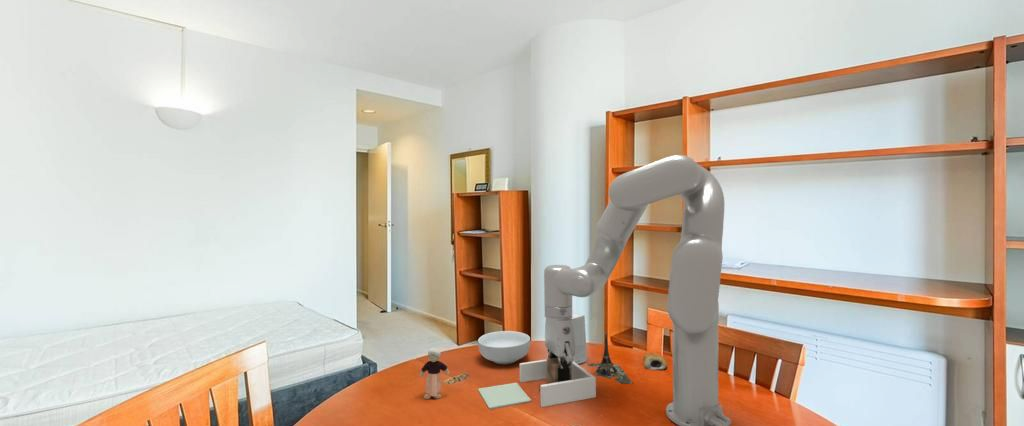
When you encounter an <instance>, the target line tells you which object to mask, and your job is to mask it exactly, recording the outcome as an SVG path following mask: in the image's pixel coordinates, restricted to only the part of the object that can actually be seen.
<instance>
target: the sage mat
mask: <svg viewBox="0 0 1024 426" xmlns="http://www.w3.org/2000/svg"><path fill="white" fill-rule="evenodd" d="M477 391H478V392H479V394H480V396H481V398H482V400H484V403H485V404H486V407H488V409H489V410H493V409H499V408H504V407H509V406H515V405H521V404H525V403H526V404H527V403H531V402H532V399H531V398H530V397H529V395H528V394H527V393H526V392H525V391H524V390H523V389H522V387H521V386H520V385H519V383H518V382H513V383H505V384H499V385H492V386H487V387H480V388H478V389H477Z"/></svg>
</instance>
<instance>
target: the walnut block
mask: <svg viewBox="0 0 1024 426" xmlns="http://www.w3.org/2000/svg"><path fill="white" fill-rule="evenodd" d="M546 360H547V378H546V382H547V383H548V384H550V383H556V382H558V368H559V361H558V357H557V358H550V359H548V358H546ZM564 360H566V358H562V363H563V361H564ZM570 380H572V363H571V365H570Z"/></svg>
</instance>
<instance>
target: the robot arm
mask: <svg viewBox="0 0 1024 426" xmlns="http://www.w3.org/2000/svg"><path fill="white" fill-rule="evenodd" d="M677 195H678V196H680V197H681V199H682V201H683V210H682V211H683V212H682V222H681V223H682V224H681V233H680V241H679V242H678V243H677V244H676V246H675V248H674V250H673V252H672V256H671V263H670V272H669V273H670V275H669V283H668V284H669V285H668V294H667V303H666V305H667V306H666V307H667V309H666V310H667V313H668V314H667V315H668V316H669V319H670V320H671V322H672V396H673V397H672V402H669V403H668V404H667V405H666V408H665V411H666V416H667V417H668V419H669V420H670V421H672V423H675V424H676V425H678V426H730V425H731V423H732V419H731V418H729V417H728V416H726V415H725V413H723V405H721V404H719V313H720V312H719V310H720V309H719V306H720V305H719V296H720V295H719V294H720V288H721V287H720V286H721V285H720V284H721V277H722V276H721V275H722V267H723V256H724V255H723V249H722V248H723V235H724V221H725V220H724V218H725V197H724V192H723V189H722V186H721V184H720V183H719V181H718V179H717V178H716V177H715V175H714V174H712V173H711V172H710V171H709V170H708V169H706V168H705V167H703V166H702V165H700V164H698V163H697V162H696V161H695V160H694V159H693V158H692V157H690V156H688V155H683V154H675V155H674V154H673V155H670V156H667V157H663V158H661V159H658V160H656V161H653V162H650V163H648V164H646V165H642V166H640V167H637V168H635V169H632V170H629V171H626V172H624V173H621V174H620V175H618V176H616V177H615V178H614V179H613V180H612V181H611V183H610V186H609V188H608V198H609V202H608V203H607V205H606V208H605V210H604V211H603V212H602V215H601V216H600V218H599V220H598V221H597V224H596V226H595V236H596V239H595V245H594V247H593V249H592V251H591V253H590V254H589V256H588V258H587V260H586V261H585V264H584V265H581V266H580V267H575V268H571V267H570V266H569V265H564V264H552V265H551V264H550V265H547V266H546V267H545V268H544V269H543V271H544V272H543V280H544V281H543V282H544V283H543V285H544V286H543V288H544V292H543V293H544V294H543V296H544V299H543V300H544V306H543V307H544V318H545V323H544V324H545V325H544V330H545V331H544V343H545V348H546V349H547V352H548V355H547V357H548V358H547V359H550V358H557V357H558V361H559V368H558V382H562V381H568V380H570V365H571V363H572V362H573V356H575V353H576V349H575V333H574V325H573V320H572V312H573V297H577V298H587V297H590V296H592V295H593V294H595V293H596V292H598V291H599V290H601V289H602V288H603V287H604V286H605V285H606V283H607V282H608V280H609V278H610V277H611V274H612V273H613V271H614V269H615V268H616V266H617V264H618V263H619V260H620V258H621V256H622V254H623V252H624V249H625V248H626V245H627V242H629V241H628V240H629V239H630V237H631V236H632V234H633V232H634V230H635V229H636V226H637V225H638V223H639V221H640V219H641V217H642V216H643V214H644V213H645V210H647V209H646V208H647V207H648V205H650V204H652V203H656V202H660V201H662V200H665V199H668V198H671V197H675V196H677ZM563 353H565V354H566V355H563V356H562V354H563ZM562 358H566V360H564V361H563V363H562Z"/></svg>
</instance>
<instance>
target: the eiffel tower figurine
mask: <svg viewBox="0 0 1024 426" xmlns="http://www.w3.org/2000/svg"><path fill="white" fill-rule="evenodd" d="M608 343H609V342H608V333H607V332H605V333H604V349H603V355H602V359H601V362H599V363H592V362H591V363H587V366H588V367H595V368H596V369H595V371H594V372H593V373H592V374H594V375H595V377H596V376H598V377H603V378H607V379H610V380H611V379H613V378H614V377H616V378H614V379H613V380H614V381H615V382H616V383H619V384H621V385H624V384H625V385H626V384H633V382H632V380H631V379H630V377H628V374H627V373H626V372H625V371H624V370H623V368H622V366H621V365H619V364H614V363H613V362H612V361H611V357H610V353H609V345H608Z"/></svg>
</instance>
